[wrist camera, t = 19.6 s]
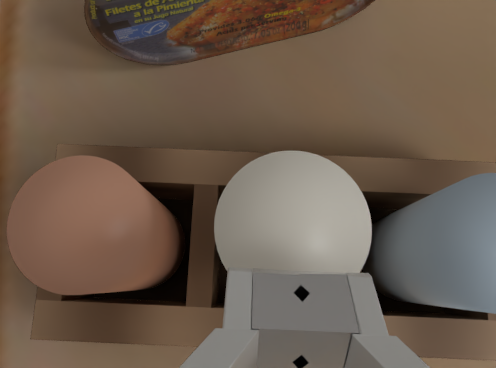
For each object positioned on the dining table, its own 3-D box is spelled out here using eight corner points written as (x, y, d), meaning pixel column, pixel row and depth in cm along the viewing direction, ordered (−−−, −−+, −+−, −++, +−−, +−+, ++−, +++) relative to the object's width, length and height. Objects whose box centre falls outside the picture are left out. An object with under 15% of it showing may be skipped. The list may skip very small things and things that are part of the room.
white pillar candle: (270, 184, 20) (286, 120, 12) (340, 245, 19) (403, 221, 12) (208, 251, 19) (181, 231, 11) (278, 317, 19) (300, 343, 11)
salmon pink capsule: (141, 184, 21) (80, 128, 13) (203, 242, 21) (176, 219, 13) (79, 247, 21) (-23, 227, 13) (141, 309, 20) (73, 326, 12)
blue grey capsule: (397, 195, 21) (484, 145, 13) (466, 253, 21) (599, 237, 13) (342, 259, 21) (400, 245, 13) (412, 321, 20) (517, 347, 12)
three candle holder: (69, 328, 22) (30, 339, 18) (89, 166, 23) (57, 143, 19) (467, 346, 22) (516, 361, 18) (458, 182, 23) (501, 162, 19)
